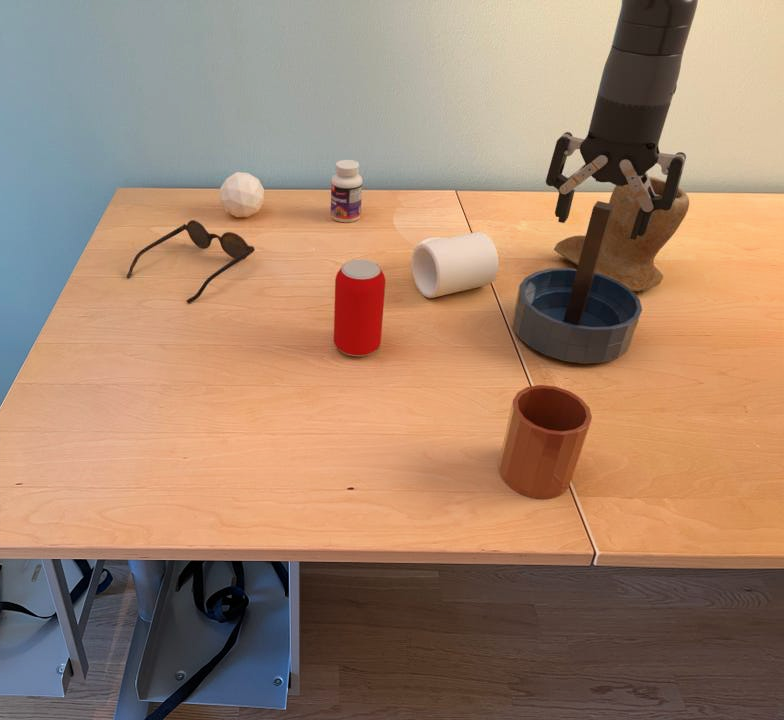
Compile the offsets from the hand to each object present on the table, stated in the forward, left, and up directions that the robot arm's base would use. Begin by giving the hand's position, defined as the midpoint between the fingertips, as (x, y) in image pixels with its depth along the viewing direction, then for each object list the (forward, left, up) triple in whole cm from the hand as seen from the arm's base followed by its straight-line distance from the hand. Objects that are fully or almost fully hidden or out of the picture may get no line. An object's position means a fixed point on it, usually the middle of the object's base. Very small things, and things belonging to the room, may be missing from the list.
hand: (598, 228), depth 85 cm
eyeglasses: (+55, +14, -16) cm, 59 cm away
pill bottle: (+44, -16, -16) cm, 50 cm away
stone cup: (-1, -21, -16) cm, 26 cm away
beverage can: (+23, +18, -16) cm, 33 cm away
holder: (-4, +28, -16) cm, 32 cm away
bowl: (0, 0, -16) cm, 16 cm away
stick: (0, 0, -15) cm, 15 cm away
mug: (+20, -4, -16) cm, 26 cm away
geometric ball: (+60, -7, -16) cm, 62 cm away
